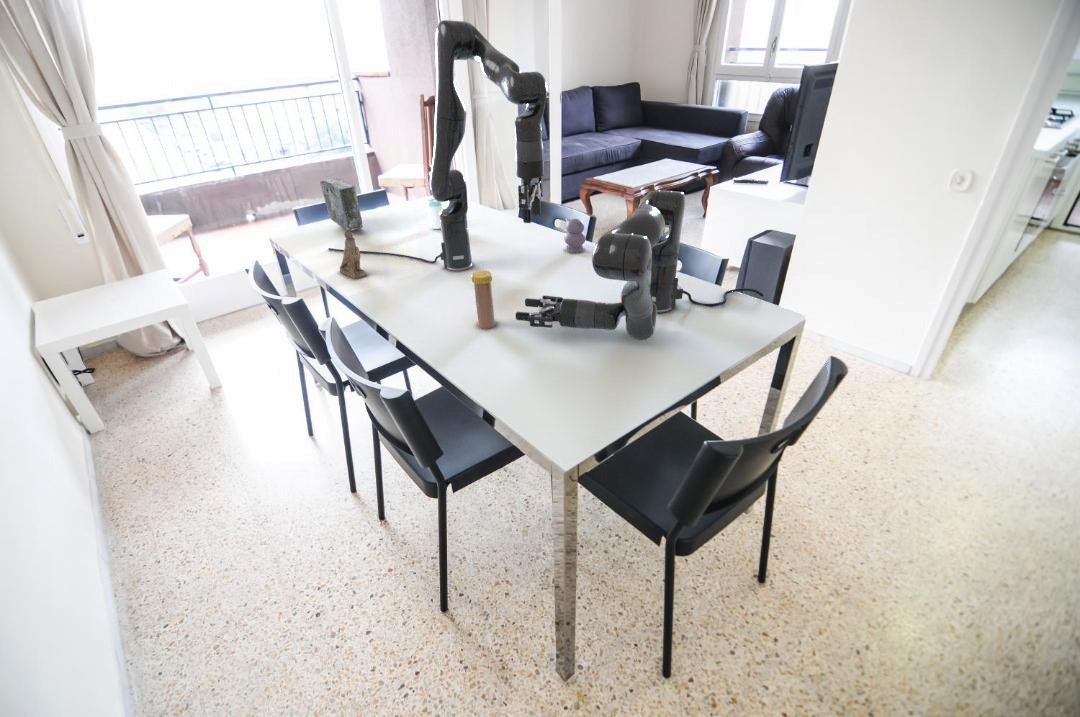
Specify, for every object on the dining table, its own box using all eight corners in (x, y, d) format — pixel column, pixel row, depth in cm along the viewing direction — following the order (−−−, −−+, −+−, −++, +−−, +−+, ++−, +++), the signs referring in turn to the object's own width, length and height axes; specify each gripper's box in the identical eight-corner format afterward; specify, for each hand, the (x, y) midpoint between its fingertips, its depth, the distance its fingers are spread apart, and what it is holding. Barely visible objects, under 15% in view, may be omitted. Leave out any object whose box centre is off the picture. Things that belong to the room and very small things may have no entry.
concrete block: (368, 232, 220) (358, 186, 209) (348, 237, 216) (336, 189, 205) (349, 220, 239) (338, 176, 228) (330, 223, 234) (319, 179, 224)
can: (445, 229, 220) (441, 202, 214) (429, 230, 220) (425, 202, 214) (447, 224, 226) (444, 198, 220) (432, 225, 226) (428, 198, 220)
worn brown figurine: (368, 281, 178) (362, 235, 166) (353, 285, 175) (347, 238, 163) (352, 266, 184) (346, 221, 172) (338, 270, 181) (331, 224, 169)
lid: (488, 275, 137) (488, 269, 136) (494, 282, 133) (493, 275, 132) (470, 278, 135) (469, 272, 134) (475, 286, 131) (474, 279, 130)
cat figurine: (589, 249, 191) (590, 218, 185) (577, 255, 187) (577, 223, 180) (572, 245, 196) (572, 214, 190) (559, 250, 192) (559, 219, 185)
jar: (492, 320, 144) (487, 271, 136) (497, 326, 140) (492, 277, 132) (476, 323, 142) (471, 274, 134) (480, 330, 138) (475, 280, 131)
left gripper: (525, 153, 140) (527, 211, 148) (507, 162, 128) (511, 224, 137) (550, 153, 138) (551, 212, 146) (534, 163, 126) (537, 226, 135)
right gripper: (584, 290, 135) (527, 285, 139) (573, 313, 124) (511, 307, 127) (583, 314, 139) (528, 309, 143) (573, 339, 127) (513, 333, 131)
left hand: (532, 218), depth 141 cm, fingers open, 8 cm apart
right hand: (520, 308), depth 135 cm, fingers open, 8 cm apart
